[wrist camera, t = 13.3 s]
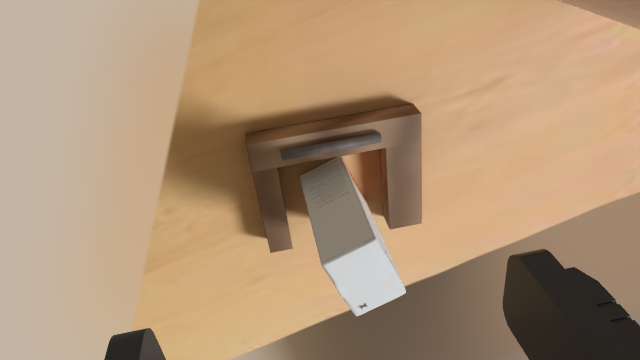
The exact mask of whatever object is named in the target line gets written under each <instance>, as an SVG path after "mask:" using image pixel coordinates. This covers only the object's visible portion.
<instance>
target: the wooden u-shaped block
mask: <svg viewBox="0 0 640 360" xmlns="http://www.w3.org/2000/svg"><path fill="white" fill-rule="evenodd" d="M245 136H246V147H247V151H248V156H249V160H250V165H251V169H252V173H253V178H254V182H255V187H256V191H257V195H258V200H259V204H260V209H261V213H262V217H263V222H264V226H265V231H266V235H267V240H268V244H269V248H270V253H272V252H277V251H282V250H287V249H293V248H292V242H291V237H290V231H289V226H288V221H287V216H286V211H285V205H284V200H283V195H282V190H281V185H280V179H279V174H278V169H277V168H279V167H284V166H289V165H295V164H300V163H306V162H311V161H317V160H322V159H328V158H333V157H339V156H344V155H349V154H355V153H360V152H366V151H371V150H377V149H380V156H381V173H382V191H383V208H384V218H385V220H386V222H387V224H388V226H389V228H390V229H394V228H400V227H405V226H410V225H415V224H420V223H422V172H421V113H420V111H419V110H418V109H417V108H416V107H415V106H414V104H410V105H404V106H398V107H393V108H387V109H382V110H376V111H370V112H365V113H359V114H353V115H348V116H342V117H336V118H331V119H325V120H320V121H314V122H308V123H303V124H297V125H291V126H286V127H280V128H274V129H269V130H263V131H257V132H252V133H246V134H245Z"/></svg>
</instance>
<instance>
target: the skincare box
mask: <svg viewBox="0 0 640 360" xmlns="http://www.w3.org/2000/svg"><path fill="white" fill-rule="evenodd" d="M300 181H301V185H302V189H303V193H304V197H305V201H306V205H307V209H308V213H309V217H310V221H311V225H312V229H313V233H314V237H315V241H316V245H317V249H318V253H319V257H320V261H321V265H322V267H323V268H324V270H325V271H326V273H327V274H328V276H329V277H330V279H331V280H332V282H333V283H334V285H335V287H336V289H337V290H338V292H339V294H340V295H341V296H342V297H343V299H344V300H345V302H346V303H347V304H348V306H349V307H350V309H351V310H352V312H353V313H354V314H355V316H359V315H361V314H363V313H366V312H368V311H370V310H372V309H374V308H376V307H378V306H380V305H383V304H385V303H386V302H389V301H391V300H393V299H395V298H397V297H399V296H401V295H403V294H405V293H406V290H405V288H404V285H403V283H402V281H401V278H400V276H399V274H398V272H397V269H396V267H395V265H394V263H393V260H392V258H391V256H390V254H389V251H388V249H387V247H386V245H385V242H384V240H383V238H382V236H381V233H380V231H379V229H378V227H377V224H376V222H375V220H374V218H373V215H372V213H371V211H370V209H369V206H368V204H367V202H366V200H365V199H364V197H363V195H362V193H361V192H360V190H359V188H358V186H357V184H356V183H355V181H354V179H353V177H352V175H351V173H350V172H349V170H348V168H347V166H346V164H345V162H344V160H343V158H342V156H339V157H335V158H333V159H332V160H330V161H328V162H326V163H324V164H322V165H320V166H318V167H316V168H314V169H312V170H310V171H308V172H306V173H304V174H302V175H301V176H300Z"/></svg>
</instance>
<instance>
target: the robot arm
mask: <svg viewBox="0 0 640 360" xmlns="http://www.w3.org/2000/svg"><path fill="white" fill-rule="evenodd" d="M560 1H562V2H565V3H567V4H570V5H573V6H576V7H579V8H581V9H584V10H587V11H590V12H593V13H595V14H597V15H600V16H603V17H606V18H609V19H612V20H615V21H617V22H620V23H623V24H626V25H629V26H632V27H635V28H637V29H640V0H560ZM503 311H504V315H505V319H506V321H507V324H508V326H509V328H510V330H511V331H512V333H513V335H514V336H515V338H516V339H517V341H518V342H519V344H520V346H521V347H522V349H523V350H524V352H525V354H526V355H527V357H528V358H529V360H640V326H639V325H638V324H637V323H636V321H635V320H631V318H630V315H629V314H628V313H627V312H626V311H625V310H624V309H623V308H622V306H621V305H619V304H617V303H616V300H615V299H614V298H613V297H612V296H611V295H610V294H609V293H608V291H607V290H606V289H605V288H604V287H603V286H602V285H601V284H600V283H599V282H598V281H597V280H595V279H593V278H591V277H590V276H588V275H586V274H585V273H583V272H582V271H580V270H578V269H577V268H575V267H572V268H568V269H564V268H563V266H562V265H561V264H560V263H559V262H558V261H557V260H556V259H555V258H554V256H553V255H552V254H551V253H550V252H549V251H548V250H546V249H540V250H536V251H531V252H526V253H521V254H516V255H512V256H510V257H509V259H508V263H507V272H506V280H505V288H504V296H503ZM105 360H166V359H165V357H164V354H163V352H162V350H161V348H160V346H159V343H158V341H157V339H156V337H155V334H154V332H153V331H152V330H151V329H150V328H147V329H142V330H137V331H132V332H127V333H123V334H118V335H114V336H112V338H111V339H110V341H109V345H108V348H107V352H106V356H105Z"/></svg>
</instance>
